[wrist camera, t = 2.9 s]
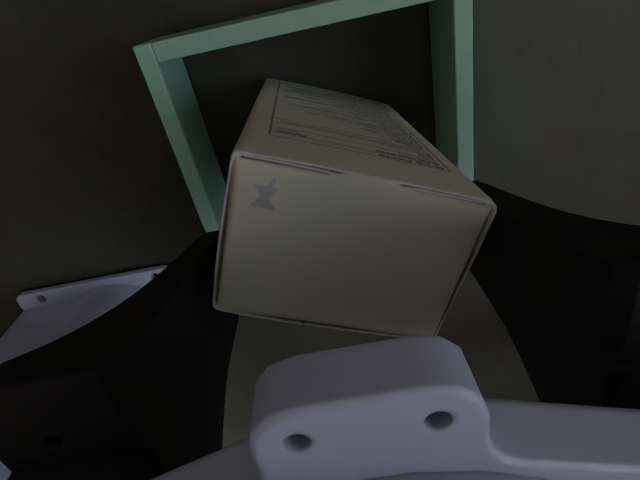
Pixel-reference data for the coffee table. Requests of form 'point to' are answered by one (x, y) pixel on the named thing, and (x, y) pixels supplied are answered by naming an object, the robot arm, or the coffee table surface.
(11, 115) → the coffee table surface
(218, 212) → the case
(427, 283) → the cosmetic box
